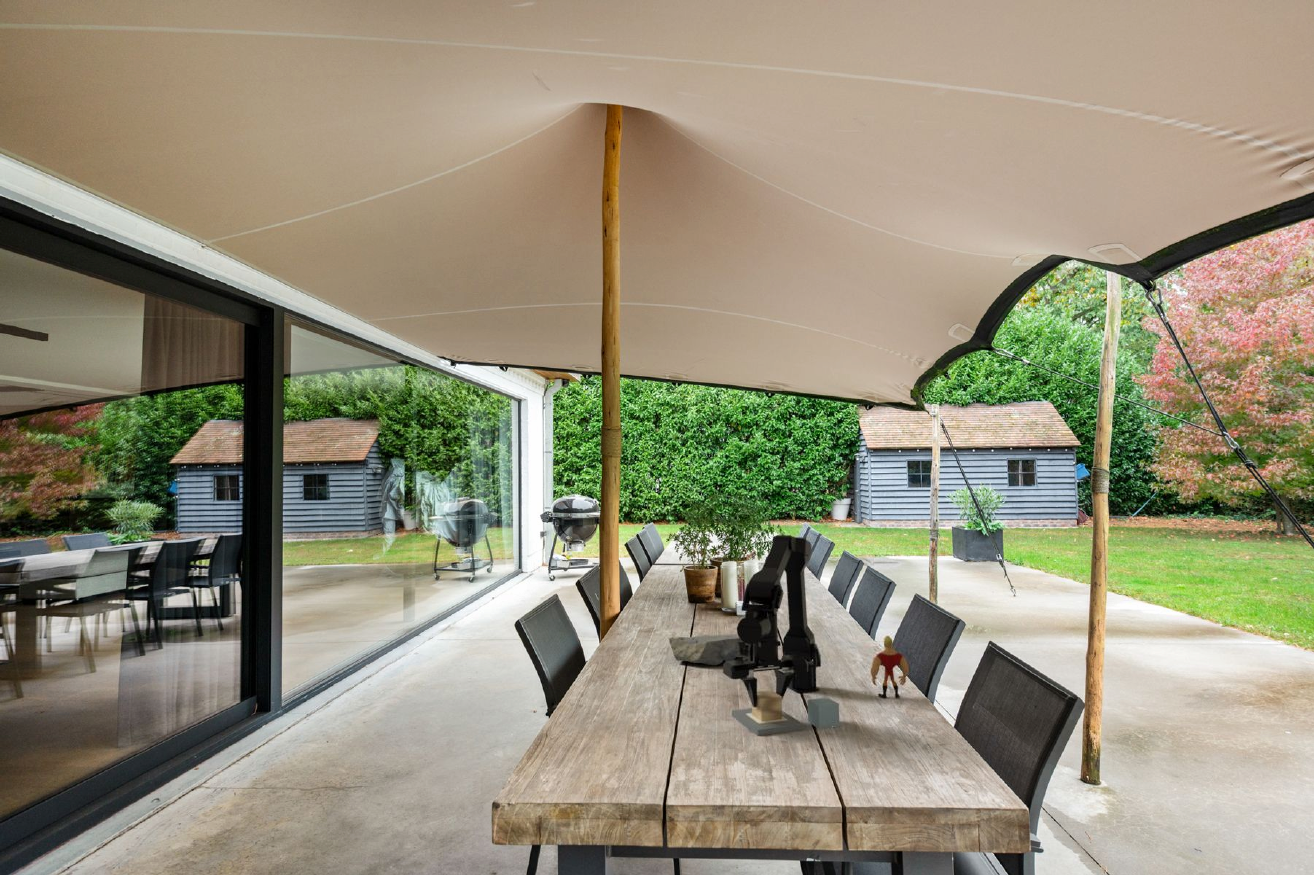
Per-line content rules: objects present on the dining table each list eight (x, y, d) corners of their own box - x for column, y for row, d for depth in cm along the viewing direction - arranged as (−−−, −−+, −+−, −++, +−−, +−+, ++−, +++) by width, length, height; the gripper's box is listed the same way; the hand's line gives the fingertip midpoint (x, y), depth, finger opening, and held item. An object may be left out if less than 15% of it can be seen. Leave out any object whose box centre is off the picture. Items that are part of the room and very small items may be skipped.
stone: (656, 635, 222) (697, 620, 243) (656, 663, 221) (698, 646, 242) (725, 644, 209) (762, 627, 230) (726, 674, 209) (763, 655, 230)
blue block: (827, 719, 167) (827, 697, 167) (839, 726, 162) (838, 703, 162) (807, 722, 165) (807, 699, 166) (819, 729, 161) (818, 706, 161)
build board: (774, 710, 173) (774, 705, 173) (803, 729, 160) (803, 723, 160) (731, 715, 170) (731, 710, 170) (757, 735, 157) (757, 729, 157)
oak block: (772, 712, 168) (771, 690, 168) (782, 719, 163) (781, 696, 164) (752, 714, 167) (751, 692, 167) (761, 721, 162) (761, 698, 162)
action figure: (906, 694, 185) (904, 634, 186) (911, 698, 181) (909, 637, 182) (868, 695, 185) (866, 634, 186) (873, 699, 181) (871, 637, 182)
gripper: (785, 625, 177) (787, 691, 176) (713, 631, 171) (714, 699, 170) (808, 634, 166) (810, 705, 165) (732, 641, 160) (733, 714, 160)
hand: (766, 705), depth 165 cm, fingers open, 6 cm apart
